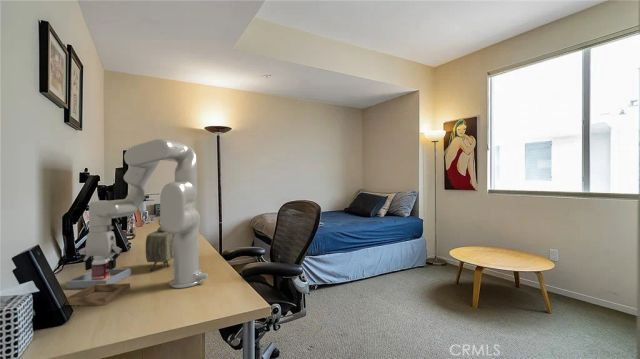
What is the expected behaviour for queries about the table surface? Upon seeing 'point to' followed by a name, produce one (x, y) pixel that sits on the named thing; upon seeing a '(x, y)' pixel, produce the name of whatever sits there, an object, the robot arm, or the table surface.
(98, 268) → the pill bottle
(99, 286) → the walnut frame
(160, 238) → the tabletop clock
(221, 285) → the table surface
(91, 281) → the slate tray
